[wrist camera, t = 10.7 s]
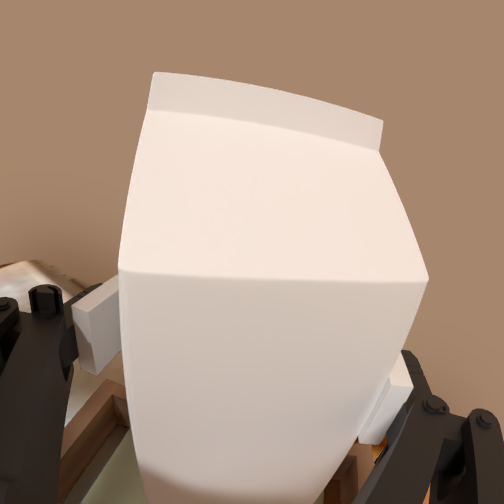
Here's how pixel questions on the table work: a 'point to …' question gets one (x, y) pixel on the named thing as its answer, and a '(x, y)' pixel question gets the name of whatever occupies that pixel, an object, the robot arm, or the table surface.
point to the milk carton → (257, 290)
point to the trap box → (125, 462)
